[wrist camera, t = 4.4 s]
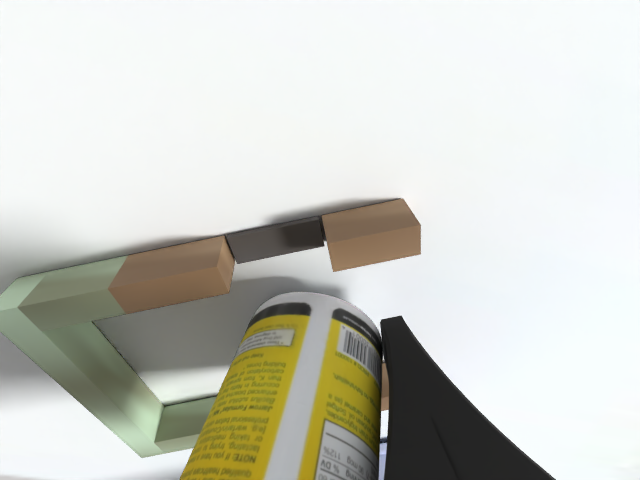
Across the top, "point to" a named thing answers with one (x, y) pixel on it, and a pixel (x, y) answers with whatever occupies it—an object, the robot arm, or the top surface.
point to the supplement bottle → (297, 397)
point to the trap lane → (168, 289)
